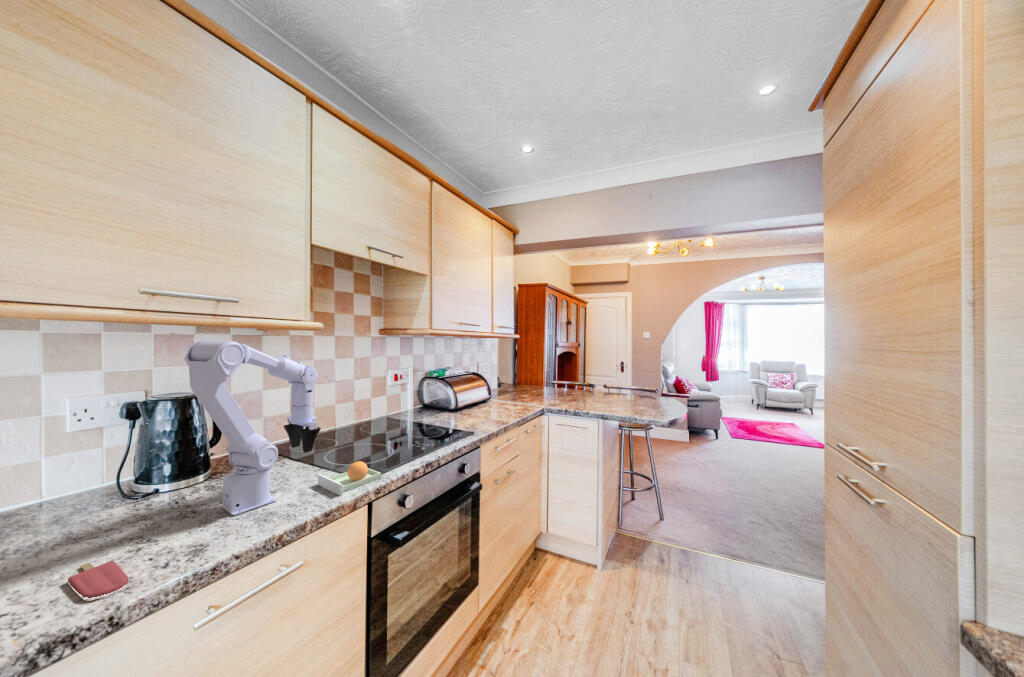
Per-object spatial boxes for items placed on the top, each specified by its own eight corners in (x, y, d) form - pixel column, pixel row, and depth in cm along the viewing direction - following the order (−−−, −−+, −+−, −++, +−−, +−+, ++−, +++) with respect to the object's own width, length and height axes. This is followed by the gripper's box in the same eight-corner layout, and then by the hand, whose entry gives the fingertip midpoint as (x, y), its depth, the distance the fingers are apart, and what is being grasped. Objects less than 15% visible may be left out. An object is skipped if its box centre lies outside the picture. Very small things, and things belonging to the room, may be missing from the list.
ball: (350, 487, 99) (356, 474, 97) (341, 473, 102) (348, 460, 100) (367, 481, 104) (374, 468, 102) (358, 467, 106) (365, 455, 105)
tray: (344, 492, 95) (344, 486, 95) (326, 483, 100) (326, 478, 100) (381, 477, 105) (381, 472, 105) (363, 470, 110) (363, 466, 110)
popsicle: (106, 552, 66) (134, 579, 59) (106, 560, 66) (133, 588, 59) (61, 568, 61) (85, 599, 54) (61, 577, 61) (85, 609, 54)
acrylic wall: (340, 495, 93) (340, 484, 93) (317, 484, 100) (318, 474, 100) (342, 494, 93) (342, 484, 93) (319, 484, 100) (320, 474, 100)
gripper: (328, 405, 102) (327, 450, 102) (304, 400, 110) (303, 441, 110) (303, 409, 96) (302, 457, 96) (280, 403, 104) (279, 447, 104)
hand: (301, 449), depth 103 cm, fingers open, 7 cm apart
